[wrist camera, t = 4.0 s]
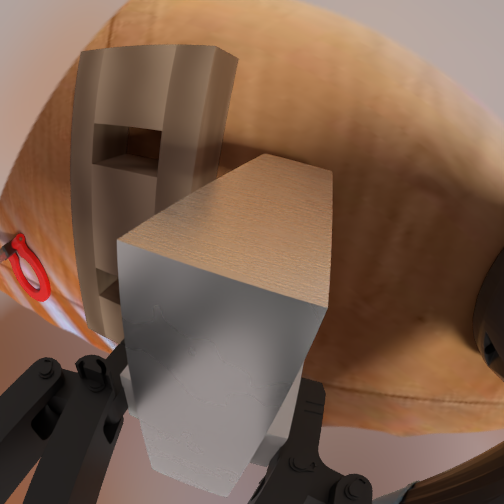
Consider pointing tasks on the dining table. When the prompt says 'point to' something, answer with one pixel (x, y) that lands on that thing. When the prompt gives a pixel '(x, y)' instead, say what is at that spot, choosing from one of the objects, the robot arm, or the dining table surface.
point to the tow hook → (19, 245)
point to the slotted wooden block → (136, 167)
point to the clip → (224, 313)
